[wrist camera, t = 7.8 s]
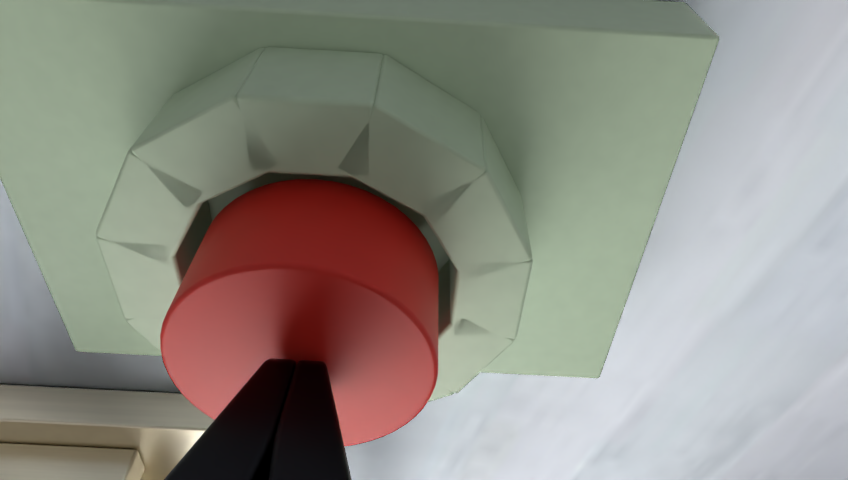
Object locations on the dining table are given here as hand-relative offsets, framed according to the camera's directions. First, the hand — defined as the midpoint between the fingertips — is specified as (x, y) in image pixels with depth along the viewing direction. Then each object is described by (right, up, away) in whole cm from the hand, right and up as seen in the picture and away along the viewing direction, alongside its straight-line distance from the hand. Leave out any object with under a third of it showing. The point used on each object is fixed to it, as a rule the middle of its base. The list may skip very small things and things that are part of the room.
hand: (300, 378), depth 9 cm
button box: (0, +3, +4) cm, 5 cm away
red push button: (0, +1, +2) cm, 2 cm away
